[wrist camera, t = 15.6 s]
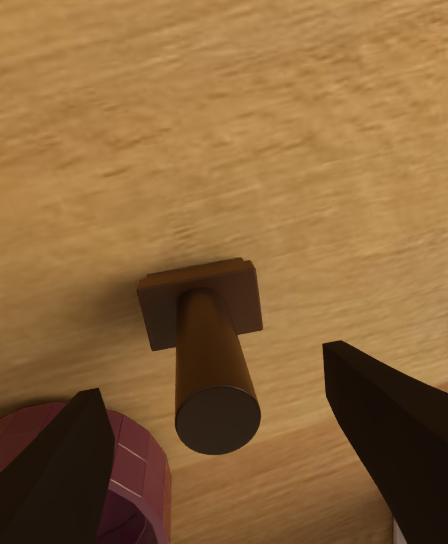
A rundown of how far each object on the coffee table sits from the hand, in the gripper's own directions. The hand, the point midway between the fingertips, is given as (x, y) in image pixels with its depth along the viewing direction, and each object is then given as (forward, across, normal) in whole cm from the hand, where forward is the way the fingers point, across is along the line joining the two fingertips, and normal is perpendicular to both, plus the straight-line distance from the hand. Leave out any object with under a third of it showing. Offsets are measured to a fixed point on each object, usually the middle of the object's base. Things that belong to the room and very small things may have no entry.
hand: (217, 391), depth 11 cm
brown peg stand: (+7, 0, -1) cm, 7 cm away
